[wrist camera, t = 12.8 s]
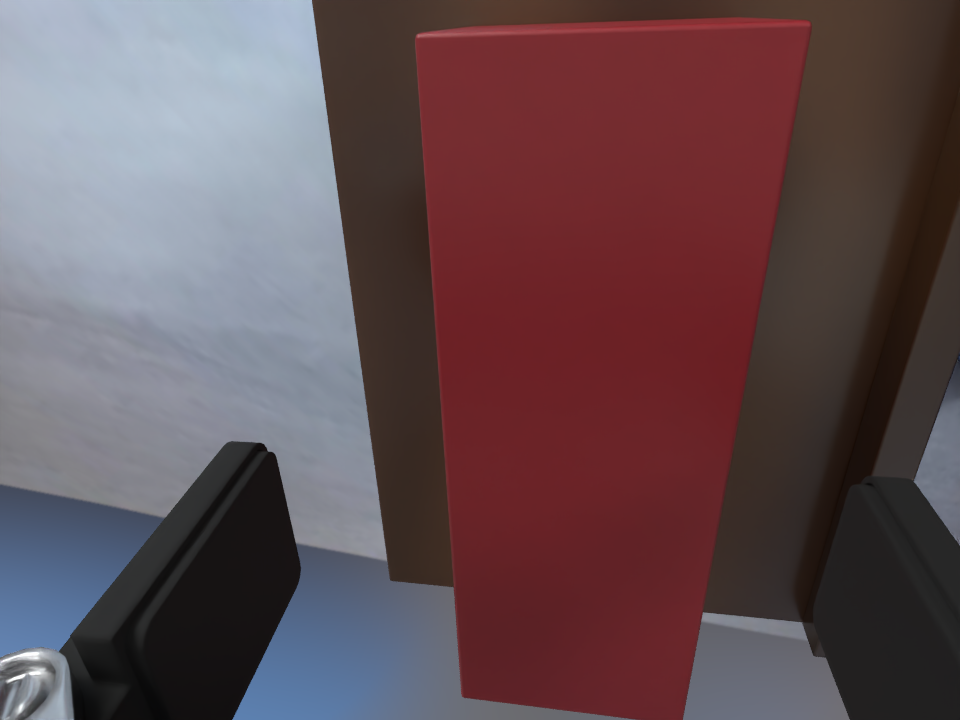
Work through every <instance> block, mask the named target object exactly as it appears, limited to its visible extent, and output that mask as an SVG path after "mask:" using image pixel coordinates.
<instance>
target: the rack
mask: <svg viewBox="0 0 960 720" xmlns="http://www.w3.org/2000/svg"><path fill="white" fill-rule="evenodd" d="M312 4H313V11H314V19H315V26H316V34H317V41H318V48H319V56H320V63H321V71H322V78H323V86H324V93H325V100H326V108H327V115H328V123H329V130H330V138H331V145H332V152H333V160H334V167H335V175H336V182H337V190H338V197H339V205H340V212H341V219H342V227H343V234H344V242H345V249H346V257H347V264H348V271H349V279H350V286H351V294H352V301H353V309H354V316H355V323H356V331H357V338H358V346H359V353H360V361H361V368H362V375H363V383H364V390H365V398H366V405H367V413H368V420H369V427H370V435H371V442H372V450H373V457H374V465H375V472H376V479H377V487H378V494H379V502H380V509H381V517H382V524H383V531H384V539H385V546H386V554H387V561H388V569H389V576H390V580H391V581H398V582H408V583H418V584H428V585H438V586H448V587H454V582H453V568H452V554H451V540H450V526H449V512H448V498H447V484H446V470H445V456H444V442H443V428H442V414H441V400H440V386H439V371H438V357H437V343H436V329H435V315H434V301H433V287H432V273H431V259H430V245H429V231H428V217H427V203H426V189H425V175H424V161H423V146H422V132H421V118H420V104H419V90H418V76H417V62H416V48H415V38H416V35H417V34H419V33H421V32H430V31H438V30H446V29H455V28H463V27H471V26H497V25H526V24H556V23H586V22H615V21H645V20H675V19H704V18H734V17H742V18H768V19H793V20H807V21H810V22H811V24H812V31H811V36H810V42H809V47H808V52H807V58H806V63H805V68H804V74H803V79H802V84H801V90H800V95H799V100H798V106H797V111H796V116H795V122H794V127H793V133H792V138H791V143H790V149H789V154H788V159H787V165H786V170H785V175H784V181H783V186H782V191H781V197H780V202H779V207H778V213H777V218H776V223H775V229H774V234H773V239H772V245H771V250H770V256H769V261H768V266H767V272H766V277H765V282H764V288H763V293H762V298H761V304H760V309H759V314H758V320H757V325H756V330H755V336H754V341H753V346H752V352H751V357H750V362H749V368H748V373H747V379H746V384H745V389H744V395H743V400H742V405H741V411H740V416H739V421H738V427H737V432H736V437H735V443H734V448H733V453H732V459H731V464H730V469H729V475H728V480H727V485H726V491H725V496H724V502H723V507H722V512H721V518H720V523H719V528H718V534H717V539H716V544H715V550H714V555H713V560H712V566H711V571H710V576H709V582H708V587H707V592H706V598H705V603H704V609H703V612H706V613H716V614H726V615H736V616H746V617H756V618H766V619H776V620H786V621H795V622H803V626H804V629H805V632H806V635H807V638H808V641H809V644H810V647H811V650H812V653H813V655H814V656H816V657H817V656H818V657H826V656H825V653H824V651H823V648H822V646H821V643H820V640H819V638H818V635H817V633H816V630H815V626H814V621H813V607H814V602H815V599H816V596H817V592H818V589H819V586H820V583H821V579H822V576H823V573H824V569H825V566H826V563H827V560H828V556H829V553H830V550H831V546H832V543H833V540H834V536H835V533H836V530H837V527H838V523H839V520H840V517H841V513H842V510H843V507H844V504H845V500H846V497H847V494H848V491H849V489H850V487H851V486H852V485H860V484H861V482H862V480H863V479H864V478H865V477H867V476H880V477H898V478H908V479H911V480H912V481H914V479H915V476H916V473H917V470H918V467H919V465H920V462H921V459H922V456H923V454H924V451H925V448H926V445H927V442H928V440H929V437H930V434H931V431H932V428H933V426H934V423H935V420H936V417H937V414H938V412H939V409H940V406H941V403H942V401H943V398H944V395H945V392H946V389H947V387H948V384H949V381H950V378H951V375H952V373H953V370H954V367H955V364H956V361H957V359H958V356H959V353H960V0H312Z"/></svg>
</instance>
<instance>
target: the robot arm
mask: <svg viewBox="0 0 960 720" xmlns="http://www.w3.org/2000/svg"><path fill="white" fill-rule="evenodd" d="M300 571H301V567H300V561H299V556H298V552H297V547H296V542H295V538H294V534H293V529H292V525H291V520H290V516H289V511H288V507H287V502H286V498H285V493H284V489H283V485H282V480H281V476H280V471H279V467H278V462H277V458H276V455H275V454H274V453H273V452H268V451H267V448H266V447H265V445H264V444H262V443H252V442H234V441H231V442H228V443H226V444H225V445H224V446H223V447H222V449H221V450H220V451H219V452H218V454H217V455H216V456H215V457H214V459H213V460H212V461H211V462H210V463H209V465H208V466H207V467H206V468H205V470H204V471H203V472H202V473H201V475H200V476H199V477H198V478H197V480H196V481H195V482H194V483H193V484H192V486H191V487H190V488H189V489H188V491H187V492H186V493H185V494H184V496H183V497H182V498H181V499H180V501H179V502H178V503H177V504H176V505H175V507H174V508H173V509H172V510H171V512H170V513H169V514H168V515H167V517H166V518H165V519H164V520H163V522H162V523H161V524H160V525H159V526H158V528H157V529H156V530H155V531H154V533H153V534H152V535H151V536H150V538H149V539H148V540H147V541H146V543H145V544H144V545H143V546H142V547H141V549H140V550H139V551H138V552H137V554H136V555H135V556H134V557H133V559H132V560H131V561H130V562H129V564H128V565H127V566H126V567H125V569H124V570H123V571H122V572H121V574H120V575H119V576H118V577H117V578H116V580H115V581H114V582H113V583H112V585H111V586H110V587H109V588H108V589H107V591H106V592H105V593H104V594H103V596H102V597H101V598H100V599H99V601H98V602H97V603H96V604H95V606H94V607H93V608H92V609H91V610H90V612H89V613H88V614H87V615H86V617H85V618H84V619H83V620H82V622H81V623H80V624H79V625H78V627H77V628H76V629H75V630H74V632H73V633H72V634H71V635H70V638H69V639H68V641H67V642H66V643H65V644H64V646H63V647H62V648H61V649H60V651H59V652H58V651H57V650H54V649H49V648H44V647H39V648H28V649H23V650H20V651H17V652H14V653H10V654H7V655H5V656H3V657H1V658H0V720H232V719H233V717H234V715H235V713H236V711H237V709H238V707H239V705H240V703H241V701H242V699H243V697H244V695H245V693H246V690H247V688H248V686H249V684H250V682H251V680H252V678H253V676H254V674H255V672H256V670H257V668H258V666H259V664H260V662H261V660H262V658H263V655H264V653H265V651H266V649H267V647H268V645H269V643H270V641H271V639H272V637H273V635H274V633H275V631H276V629H277V627H278V624H279V623H280V621H281V618H282V616H283V614H284V612H285V610H286V608H287V606H288V604H289V602H290V600H291V598H292V596H293V594H294V592H295V590H296V588H297V585H298V582H299V578H300ZM813 621H814V626H815V630H816V633H817V635H818V638H819V640H820V643H821V646H822V648H823V651H824V653H825V656H826V659H827V661H828V664H829V666H830V669H831V672H832V674H833V677H834V679H835V682H836V685H837V687H838V690H839V693H840V695H841V698H842V700H843V703H844V705H845V708H846V711H847V713H848V716H849V719H850V720H960V546H959V544H958V543H957V541H956V540H955V539H954V537H953V536H952V534H951V533H950V532H949V530H948V529H947V527H946V526H945V525H944V523H943V522H942V520H941V519H940V518H939V516H938V515H937V513H936V512H935V510H934V509H933V508H932V506H931V505H930V503H929V502H928V501H927V499H926V498H925V496H924V495H923V494H922V492H921V491H920V489H919V488H918V487H917V485H916V484H915V483H914V482H913V481H912V480H911V479H908V478H898V477H880V476H867V477H865V478H864V479H863V480H862V482H861V484H860V485H852V486H851V487H850V489H849V491H848V494H847V497H846V500H845V504H844V507H843V510H842V513H841V517H840V520H839V523H838V527H837V530H836V533H835V536H834V540H833V543H832V546H831V550H830V553H829V556H828V560H827V563H826V566H825V569H824V573H823V576H822V579H821V583H820V586H819V589H818V592H817V596H816V599H815V602H814V607H813Z"/></svg>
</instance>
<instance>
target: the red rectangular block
mask: <svg viewBox="0 0 960 720" xmlns="http://www.w3.org/2000/svg"><path fill="white" fill-rule="evenodd" d="M811 31H812V24H811V22H810V21H807V20H793V19H768V18H742V17H734V18H704V19H675V20H645V21H615V22H586V23H556V24H526V25H497V26H471V27H463V28H455V29H446V30H438V31H430V32H421V33H419V34H417V35H416V38H415V48H416V62H417V76H418V90H419V104H420V118H421V132H422V146H423V161H424V175H425V189H426V203H427V217H428V231H429V245H430V259H431V273H432V287H433V301H434V315H435V329H436V343H437V357H438V371H439V386H440V400H441V414H442V428H443V442H444V456H445V470H446V484H447V498H448V512H449V526H450V540H451V554H452V568H453V582H454V596H455V610H456V625H457V639H458V653H459V665H460V666H459V667H460V681H461V694H462V697H464V698H471V699H479V700H487V701H494V702H502V703H510V704H518V705H526V706H534V707H542V708H550V709H557V710H565V711H573V712H581V713H590V714H597V715H605V716H613V717H621V718H629V719H636V720H683V715H684V710H685V705H686V699H687V694H688V689H689V683H690V677H691V673H692V667H693V662H694V657H695V651H696V646H697V640H698V635H699V630H700V624H701V619H702V614H703V609H704V603H705V598H706V592H707V587H708V582H709V576H710V571H711V566H712V560H713V555H714V550H715V544H716V539H717V534H718V528H719V523H720V518H721V512H722V507H723V502H724V496H725V491H726V485H727V480H728V475H729V469H730V464H731V459H732V453H733V448H734V443H735V437H736V432H737V427H738V421H739V416H740V411H741V405H742V400H743V395H744V389H745V384H746V379H747V373H748V368H749V362H750V357H751V352H752V346H753V341H754V336H755V330H756V325H757V320H758V314H759V309H760V304H761V298H762V293H763V288H764V282H765V277H766V272H767V266H768V261H769V256H770V250H771V245H772V239H773V234H774V229H775V223H776V218H777V213H778V207H779V202H780V197H781V191H782V186H783V181H784V175H785V170H786V165H787V159H788V154H789V149H790V143H791V138H792V133H793V127H794V122H795V116H796V111H797V106H798V100H799V95H800V90H801V84H802V79H803V74H804V68H805V63H806V58H807V52H808V47H809V42H810V36H811Z"/></svg>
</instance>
